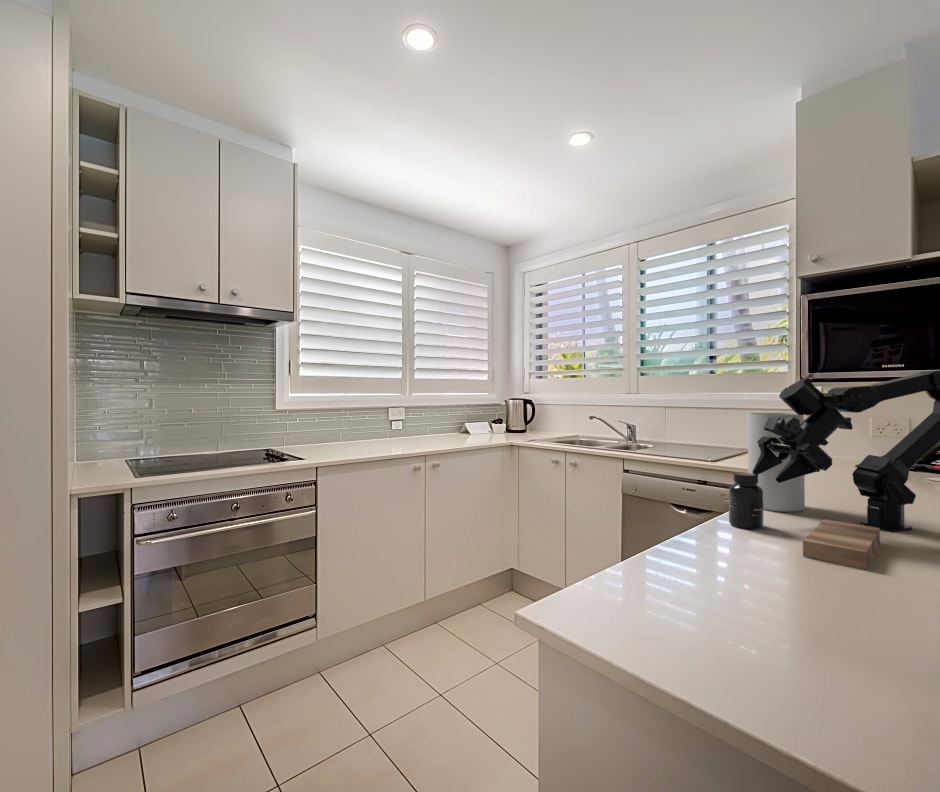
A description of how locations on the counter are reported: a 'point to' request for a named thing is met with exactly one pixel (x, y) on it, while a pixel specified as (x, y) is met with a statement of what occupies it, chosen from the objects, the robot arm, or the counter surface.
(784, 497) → the cylinder vase
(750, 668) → the counter surface
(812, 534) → the walnut ledge
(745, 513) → the supplement bottle
